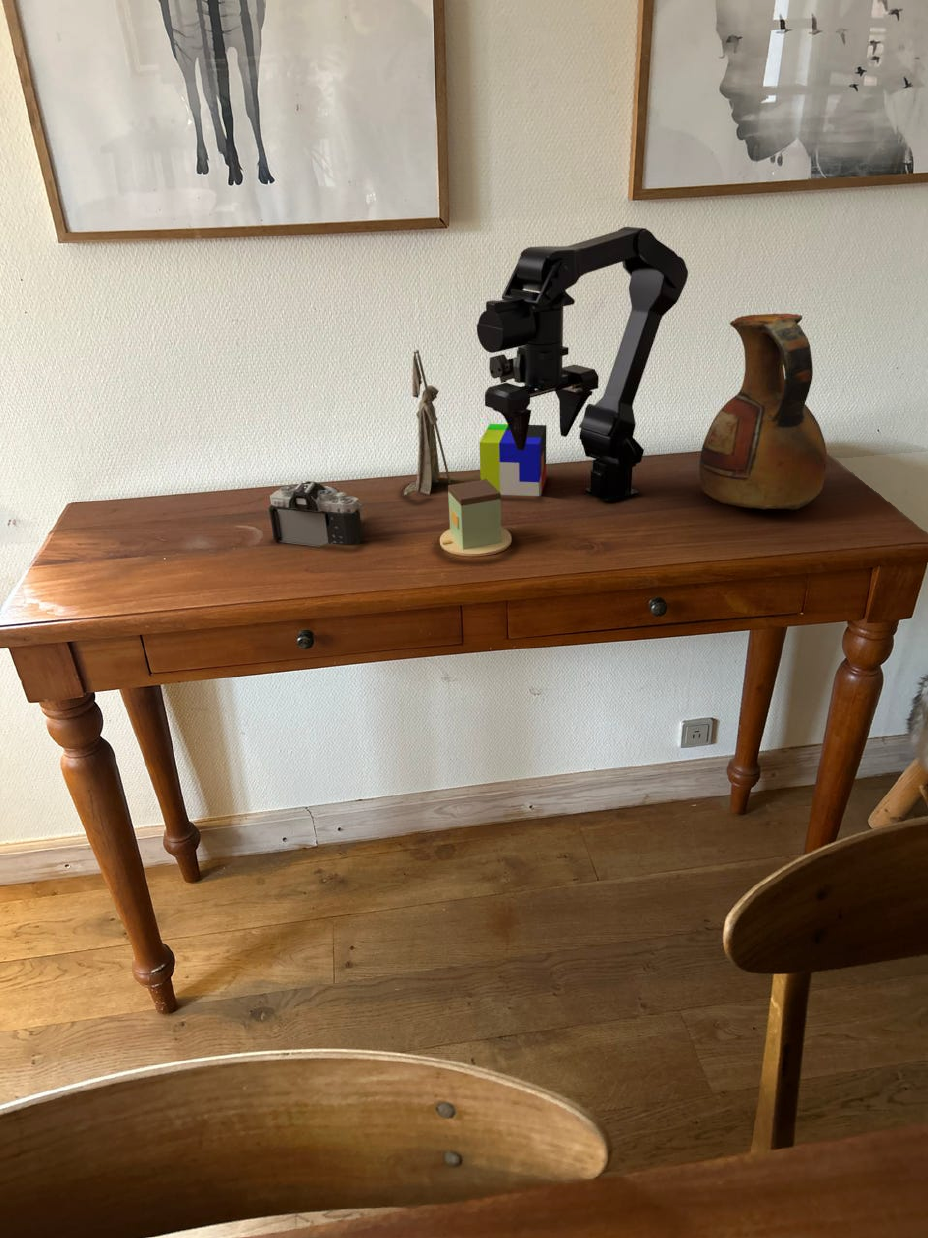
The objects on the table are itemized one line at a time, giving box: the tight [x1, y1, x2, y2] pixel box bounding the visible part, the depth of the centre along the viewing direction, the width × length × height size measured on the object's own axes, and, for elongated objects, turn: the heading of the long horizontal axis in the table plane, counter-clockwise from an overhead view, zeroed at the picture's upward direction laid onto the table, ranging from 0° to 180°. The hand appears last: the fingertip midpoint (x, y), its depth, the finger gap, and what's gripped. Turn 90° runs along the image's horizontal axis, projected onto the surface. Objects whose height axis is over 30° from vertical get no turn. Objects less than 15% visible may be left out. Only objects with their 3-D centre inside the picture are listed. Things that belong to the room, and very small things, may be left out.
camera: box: [268, 480, 364, 548], centre depth 140 cm, size 16×9×10 cm, turn 71°
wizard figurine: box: [403, 349, 452, 496], centre depth 152 cm, size 10×8×25 cm
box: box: [439, 479, 513, 558], centre depth 135 cm, size 11×11×8 cm
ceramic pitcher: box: [698, 313, 828, 510], centre depth 141 cm, size 20×20×30 cm
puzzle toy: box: [479, 423, 547, 497], centre depth 155 cm, size 10×10×10 cm
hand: (542, 442), depth 139 cm, fingers open, 9 cm apart
